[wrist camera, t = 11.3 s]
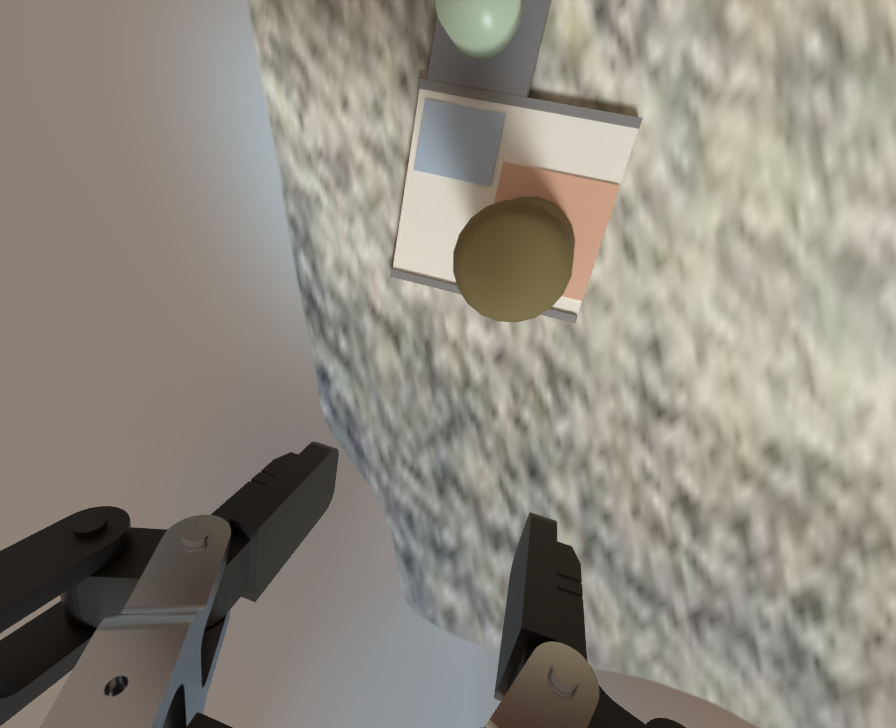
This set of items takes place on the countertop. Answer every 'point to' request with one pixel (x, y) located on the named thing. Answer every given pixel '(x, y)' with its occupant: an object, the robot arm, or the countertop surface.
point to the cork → (514, 258)
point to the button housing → (497, 72)
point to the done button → (480, 24)
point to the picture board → (506, 175)
